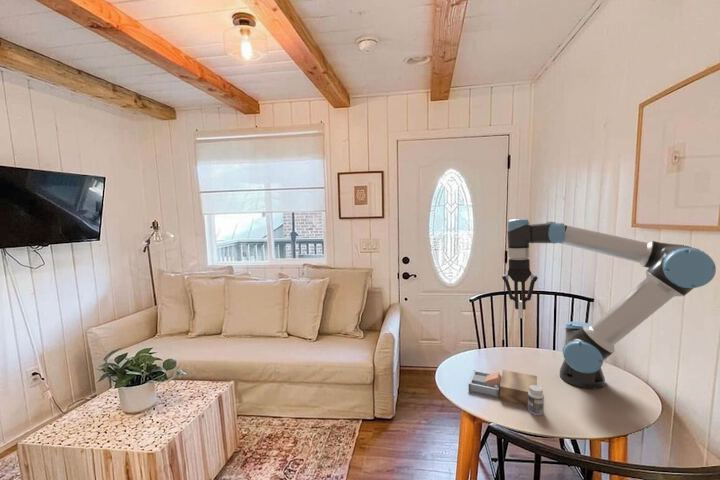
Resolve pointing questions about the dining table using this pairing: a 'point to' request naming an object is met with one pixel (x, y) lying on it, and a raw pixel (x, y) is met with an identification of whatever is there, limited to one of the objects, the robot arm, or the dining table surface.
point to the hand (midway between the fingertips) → (520, 317)
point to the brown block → (516, 386)
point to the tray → (483, 389)
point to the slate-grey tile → (479, 380)
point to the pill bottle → (535, 400)
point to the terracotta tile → (493, 379)
